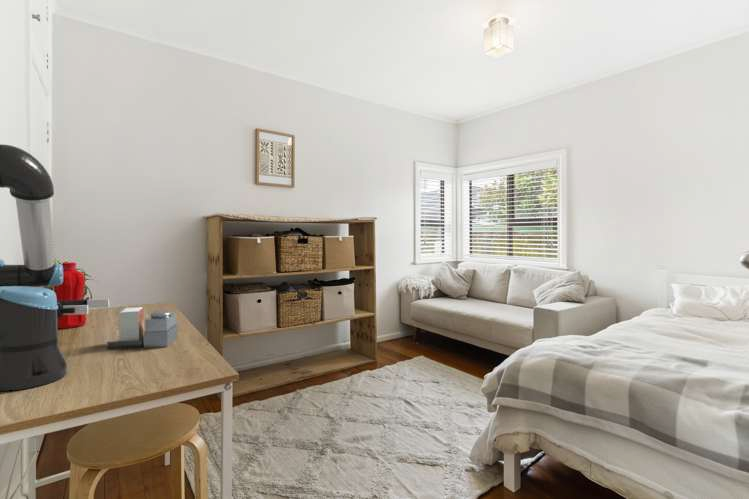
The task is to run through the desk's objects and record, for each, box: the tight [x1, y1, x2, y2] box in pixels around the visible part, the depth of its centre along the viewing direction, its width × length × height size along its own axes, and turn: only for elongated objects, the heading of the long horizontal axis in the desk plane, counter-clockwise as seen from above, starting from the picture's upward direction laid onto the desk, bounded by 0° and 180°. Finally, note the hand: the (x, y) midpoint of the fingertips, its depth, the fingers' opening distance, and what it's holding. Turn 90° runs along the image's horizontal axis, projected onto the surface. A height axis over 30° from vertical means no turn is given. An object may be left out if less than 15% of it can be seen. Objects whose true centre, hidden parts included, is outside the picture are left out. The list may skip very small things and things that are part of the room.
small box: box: [118, 306, 145, 341], centre depth 127 cm, size 8×6×10 cm
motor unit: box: [106, 310, 179, 350], centre depth 128 cm, size 11×18×10 cm, turn 101°
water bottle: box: [53, 261, 87, 330], centre depth 150 cm, size 9×11×25 cm
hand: (99, 306), depth 126 cm, fingers open, 13 cm apart
